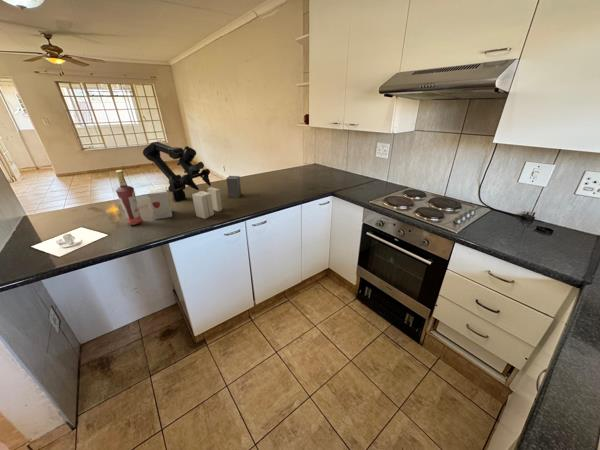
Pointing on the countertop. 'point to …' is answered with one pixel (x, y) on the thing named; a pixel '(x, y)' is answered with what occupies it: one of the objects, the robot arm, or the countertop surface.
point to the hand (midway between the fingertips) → (204, 187)
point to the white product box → (160, 202)
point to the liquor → (128, 200)
